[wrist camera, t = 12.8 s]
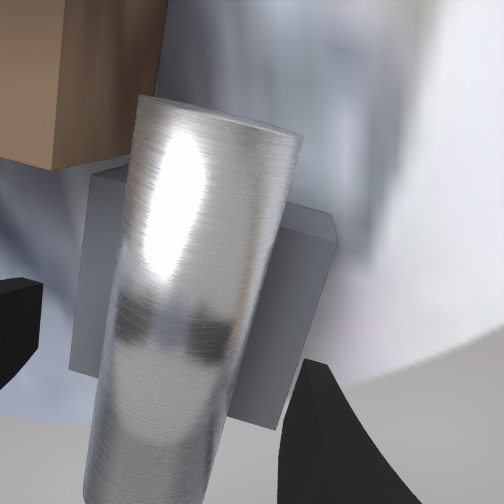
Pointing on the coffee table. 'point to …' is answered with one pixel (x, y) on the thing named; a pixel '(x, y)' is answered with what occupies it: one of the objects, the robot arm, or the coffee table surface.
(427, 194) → the coffee table surface
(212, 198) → the axle
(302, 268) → the v block
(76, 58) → the brown notched block
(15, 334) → the robot arm
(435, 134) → the coffee table surface
